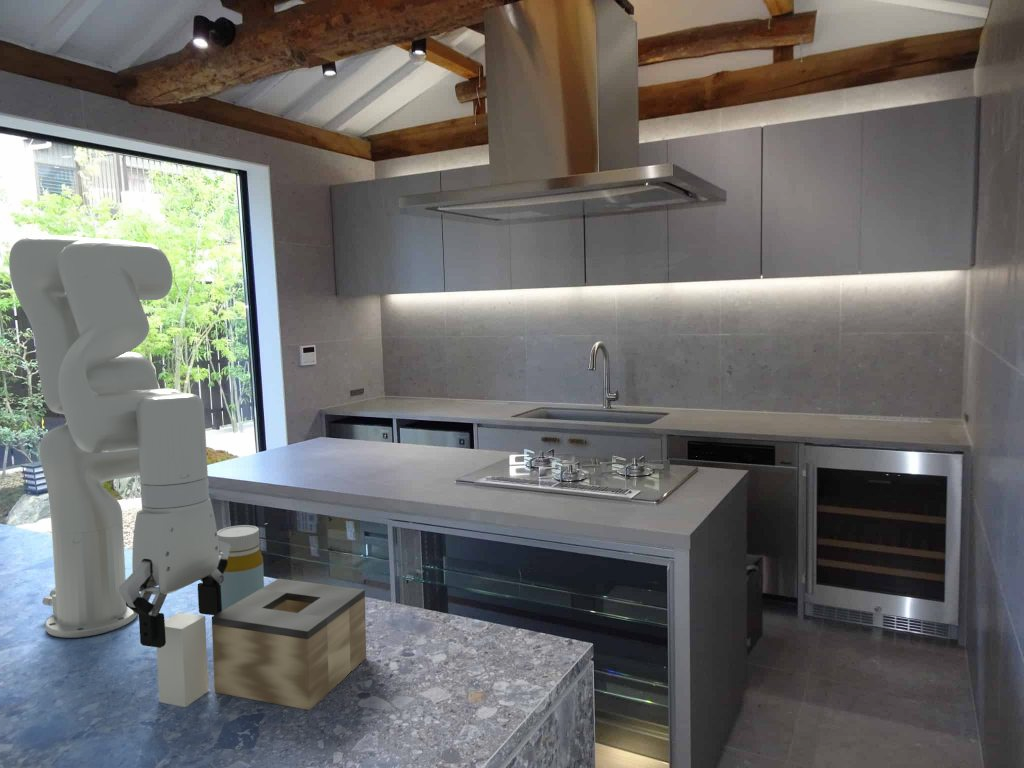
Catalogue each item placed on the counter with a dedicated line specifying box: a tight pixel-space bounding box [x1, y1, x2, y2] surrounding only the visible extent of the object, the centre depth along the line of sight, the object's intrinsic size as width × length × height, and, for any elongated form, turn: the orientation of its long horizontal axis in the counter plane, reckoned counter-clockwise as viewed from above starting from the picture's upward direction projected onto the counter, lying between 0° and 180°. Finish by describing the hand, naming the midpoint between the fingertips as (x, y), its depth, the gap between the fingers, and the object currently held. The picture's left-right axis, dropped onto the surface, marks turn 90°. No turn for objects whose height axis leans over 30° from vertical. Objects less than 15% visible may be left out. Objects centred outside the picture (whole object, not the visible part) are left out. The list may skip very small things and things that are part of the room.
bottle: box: [217, 524, 265, 611], centre depth 112 cm, size 7×7×15 cm
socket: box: [211, 578, 367, 711], centre depth 96 cm, size 14×14×10 cm
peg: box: [156, 611, 209, 708], centre depth 91 cm, size 4×4×10 cm
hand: (183, 628), depth 90 cm, fingers open, 9 cm apart
